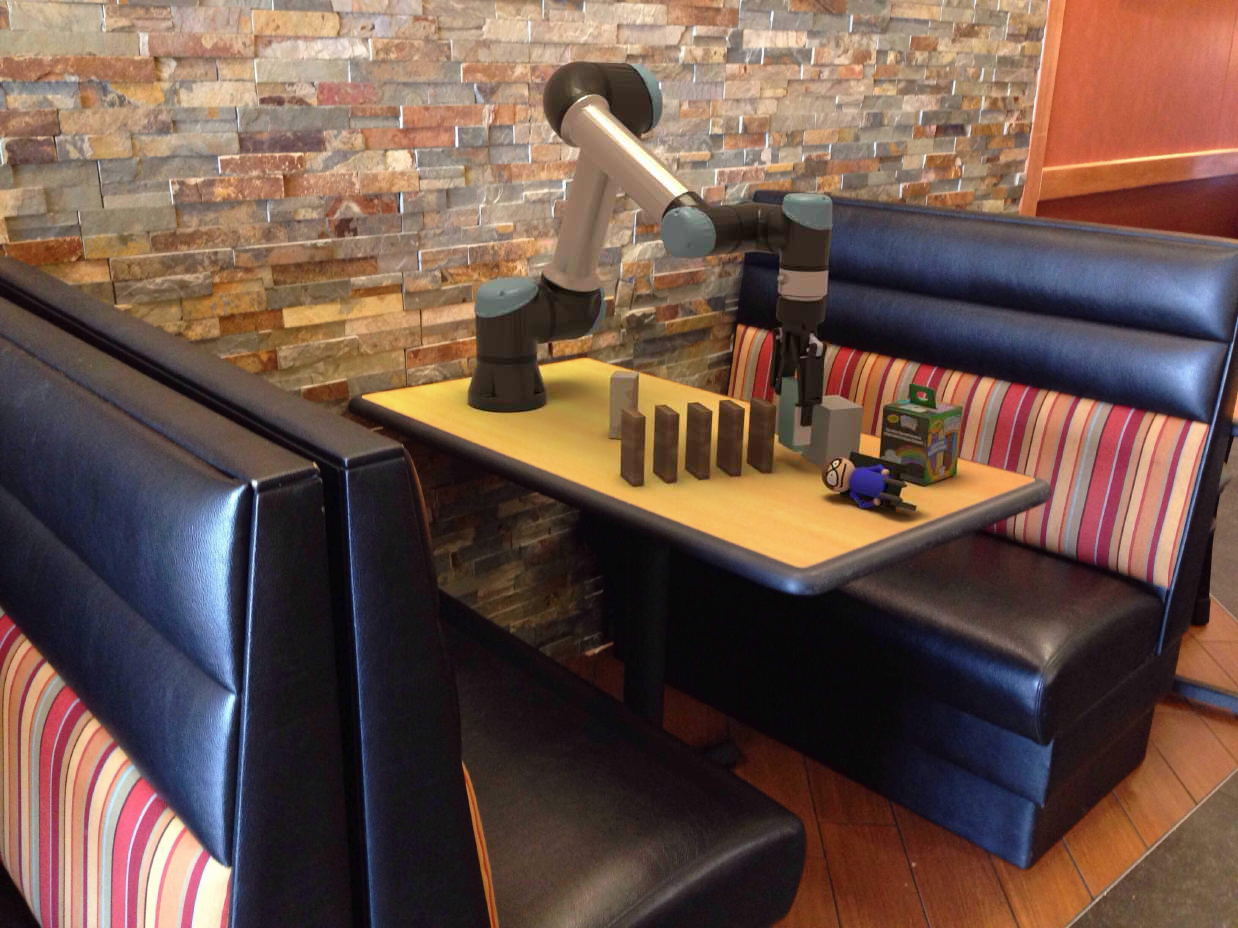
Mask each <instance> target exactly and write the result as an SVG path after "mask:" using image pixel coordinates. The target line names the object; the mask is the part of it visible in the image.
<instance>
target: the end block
mask: <svg viewBox="0 0 1238 928" xmlns="http://www.w3.org/2000/svg"><path fill="white" fill-rule="evenodd" d="M863 413H864V406H862V405H859V404H857V403H855V402H853V401H851V400H850V399H847V398H845V397H843V396H840V395H838V394H832V395H831V394H829V395H823V398H822V404H820V405H815V406H814V407H813V415H812V425H811V438H810V444H809V445H805V449H804V451H801V454H800V455H801V456H802V457H804V458H806V459H807V460H808V461H811V462H812V463H814V464H815V465H817V466H818V467H820V468H822V469H823V467H824V466H825V464H826V463H827V462H828V461H829V460H831V459H833V458H838V457H840V458H845V459H847V460H849V457H850V453H851V451H852V452H856V453H860V446H861V436H862V435H861V434H862V426H863V425H862V424H863V415H864V414H863Z"/></svg>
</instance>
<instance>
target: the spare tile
mask: <svg viewBox="0 0 1238 928" xmlns="http://www.w3.org/2000/svg"><path fill="white" fill-rule="evenodd" d="M795 403H799V399H798V384H797V377H795V376H794V377H782V388H781V405H780V420H779V435H777V436H778V437H777V443H779V444H780V445H782V446H783V447H785V448H786V449H788V450H790V451H792V452H794V453H798V452H802V451H804V449H805V445H799V446H794V445H793V434H794V419H795Z"/></svg>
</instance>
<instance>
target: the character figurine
mask: <svg viewBox="0 0 1238 928" xmlns="http://www.w3.org/2000/svg"><path fill="white" fill-rule="evenodd" d="M907 468H908V466H906V465H902V464H899V463H895V462H891V461H887V460H883V459H879V457H875V456H871V455H867V454H864V453H860V452H859V453H856V452H852V451H851V453H850V457H849V460H847V459H845V458H840V457H838V458H833V459H831V460H829V461H828V462H827V463H826V464H825V466H824V467H823V468H822V471H821V480H822V483H823V485H824V486H825V487H826V488H827V489H828V490H830V491H832V492H834V493H838V494H839V495H841V496H844V497H847V498H851V499H854V500H855V502H856V503H857V505H858V507H860V509H861V510H863V509H865V508H869V507H873V506H878V507H881V508H884V509H887V510H893V511H896V510H897V507H898V508H901V509H904V510H905V509H906V510H908V511H912V512H913V511H914V512H916V510H917V508H918V505H917V504H916V505H915V504H913V503H909V502H906V501H905V500H904V499H903V498H902V497H901V493H902V489H904V488H907V487H909V486H908V485H907V483H906V482H905V481H906V480H908V481H907V482H909V481H912V482H916V483H920V484H922V482H923V479H920V478H917V477H913V476H909V475H906V472H907ZM904 479H905V480H904ZM912 482H911V483H912Z"/></svg>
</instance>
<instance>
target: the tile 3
mask: <svg viewBox="0 0 1238 928" xmlns="http://www.w3.org/2000/svg"><path fill="white" fill-rule="evenodd" d="M686 405H687V406H686V412H687V413H686V429H685V452H684V453H685V454H684V455H685V457H684V470H685V471H686V472H688V473H689V474H690V475H691V476H693V477H694V478H696V479H697V480H698V481H704V480H710V474H711V473H710V472H711V469H710V468H711V453H712V451H711V450H712V434H713V433H712V431H713V412H714V411H713V410H711V409H710V408H708V407H707V406H705V405H704V404H702V403H701V402H698V401H695V402H693V401H692V402H687V404H686Z"/></svg>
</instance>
